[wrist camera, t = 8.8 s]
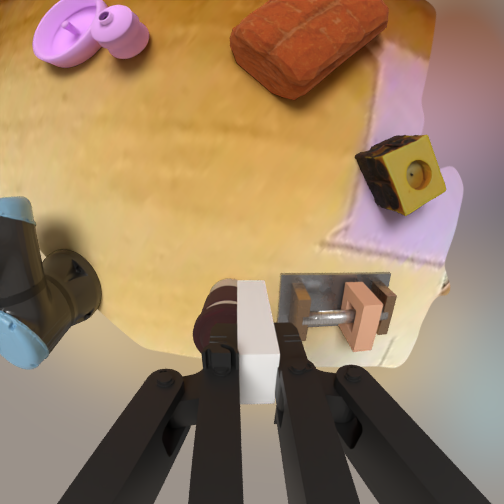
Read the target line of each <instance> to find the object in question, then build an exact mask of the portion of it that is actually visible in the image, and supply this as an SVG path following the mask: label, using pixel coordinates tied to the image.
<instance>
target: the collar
mask: <svg viewBox="0 0 504 504" xmlns="http://www.w3.org/2000/svg"><path fill="white" fill-rule="evenodd" d="M382 308H383V303H382V302H381V301H380V300H379V299H378V298H377V297H376V296H375V295H374V294H373V293H372V291H371V290H370V289H369V288H368V287H367V286H366V285H365V284H364V283H363V282H345V288H344V294H343V300H342V306H341V310H348V309H355V310H356V316H355V321H354V323H344V324H338V325H339V327H340V329H341V331H342V333H343V334H344V336H345V338H346V340H347V342H348V343H349V345H350V347H351V349H352V351H353V352H358V351H366V350H371V349H372V346H373V342H374V339H375V335H376V332H377V328H378V324H379V320H380V316H381V312H382Z"/></svg>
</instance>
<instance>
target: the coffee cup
mask: <svg viewBox="0 0 504 504" xmlns="http://www.w3.org/2000/svg"><path fill="white" fill-rule="evenodd" d="M216 323H231V324H237V280H236V279H223V280H220V281H218V282H217V283H216V284H215V285H214V286H213V287H212V289H211V291H210V294H209V295H208V297H207V299H206V301H205V304H204V307H203V309H202V312H201V314H200V315H199V316H198V318H197V320H196V322H195V325H194V329H193V340H194V343H195V345H196V347H197V349H198V350H199V351H200V353H201V354H202V350H203V348H205V347H206V346H207V345H209V340H210V333H211V329H212V327H213V326H214V325H215V324H216Z"/></svg>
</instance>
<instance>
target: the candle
mask: <svg viewBox="0 0 504 504" xmlns="http://www.w3.org/2000/svg"><path fill="white" fill-rule="evenodd" d="M355 158H356V159H357V161H358V164H359V166H360V169H361V171H362V173H363V175H364V178H365V180H366V181H367V184H368V186H369V188H370V190H371V192H372V194H373V196H374V199H375V202H376V203H377V205H380V206H381V207H382V208H385V209H389V210H392V211H395V212H396V211H397V212H398V213H401V214H402V215H404V216H407V215H408V214H410V213H412V212H413V211H415V210H417V209H418V208H419V207H421V206H422V205H424V204H425V203H427V202H429V201H430V200H432V199H434V198H436V197H437V196H439V195H440V194H442V193H444V192H445V191H446V186H445V182H444V180H443V177H442V175H441V172H440V169H439V166H438V163H437V160H436V157H435V154H434V151H433V148H432V146H431V142H430V140H429V137H428V135H414V136H406V135H403V136H399V135H398V136H394V137H392V138H390V139H388V140H385V141H382V142H381V143H379V144H376V145H374V147H373V146H372V147H371V149H370V150H369V151H366V152H360V153H359V154H357V155H355Z"/></svg>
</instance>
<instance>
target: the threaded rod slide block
mask: <svg viewBox="0 0 504 504" xmlns="http://www.w3.org/2000/svg"><path fill="white" fill-rule="evenodd" d="M390 276H391V273H390V272H375V273H281V277H280V291H279V305H278V318H277V323H283V322H291V323H292V324H293V325H294V326H295V327H297V329H298V332H299V336H300V338H301V341H306V335H307V329H308V327H319V326H337V325H338V324H344V323H354V321H355V316H356V310H355V309H348V310H341V306H342V300H343V294H344V288H345V282H363V283H364V284H365V285H366V286H367V287H368V288H369V289H370V290H371V291H372V293H373V294H374V295H375V296H376V297H377V298H378V299H379V300H380V301H381V302H382V303H383V308H382V312H381V316H380V320H379V324H378V328H377V332H376V333H377V335H382V334H387V331H388V328H389V324H390V320H391V317H392V313H393V309H394V305H395V301H396V297H397V296H396V295H395V294H394V293H393V292H392V291H391V290H390V289H389V288H388V286H389V281H390Z"/></svg>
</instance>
